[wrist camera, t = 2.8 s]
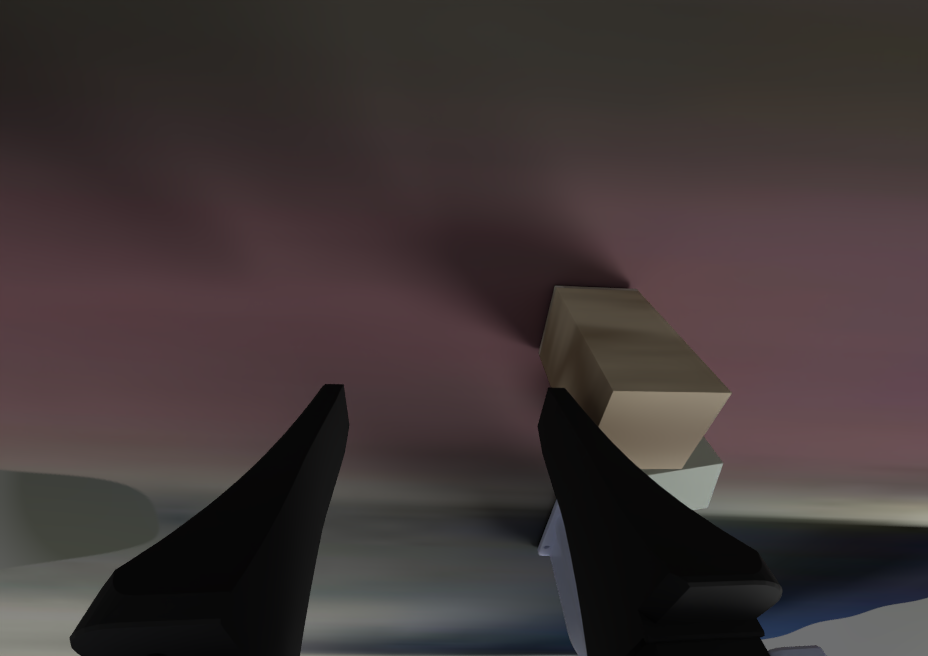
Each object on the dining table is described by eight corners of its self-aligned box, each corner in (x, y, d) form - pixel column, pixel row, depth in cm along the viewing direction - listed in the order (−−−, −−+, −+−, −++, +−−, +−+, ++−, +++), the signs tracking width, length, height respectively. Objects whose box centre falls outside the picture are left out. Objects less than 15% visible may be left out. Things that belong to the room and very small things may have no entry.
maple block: (611, 354, 20) (681, 468, 14) (538, 353, 20) (580, 469, 14) (636, 289, 18) (731, 392, 12) (554, 285, 17) (613, 390, 12)
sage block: (661, 433, 24) (707, 507, 20) (599, 443, 24) (632, 519, 20) (669, 389, 22) (723, 463, 18) (601, 401, 22) (638, 476, 18)
